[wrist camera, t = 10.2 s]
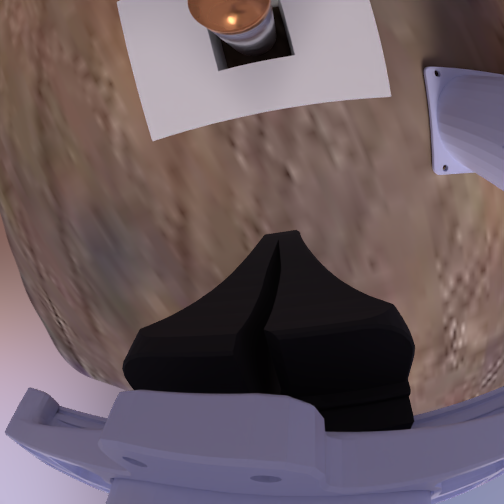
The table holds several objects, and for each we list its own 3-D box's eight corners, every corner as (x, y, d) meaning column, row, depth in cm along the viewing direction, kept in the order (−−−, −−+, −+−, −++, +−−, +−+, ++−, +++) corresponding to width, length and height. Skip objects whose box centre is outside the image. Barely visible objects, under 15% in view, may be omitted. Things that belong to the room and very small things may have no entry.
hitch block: (340, -34, 11) (349, -54, 8) (373, 94, 16) (391, 96, 13) (141, 11, 14) (116, 2, 11) (172, 132, 19) (152, 141, 16)
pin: (273, 13, 14) (263, -39, 7) (278, 53, 16) (273, 24, 8) (227, 19, 15) (184, -26, 7) (232, 58, 16) (191, 37, 8)
